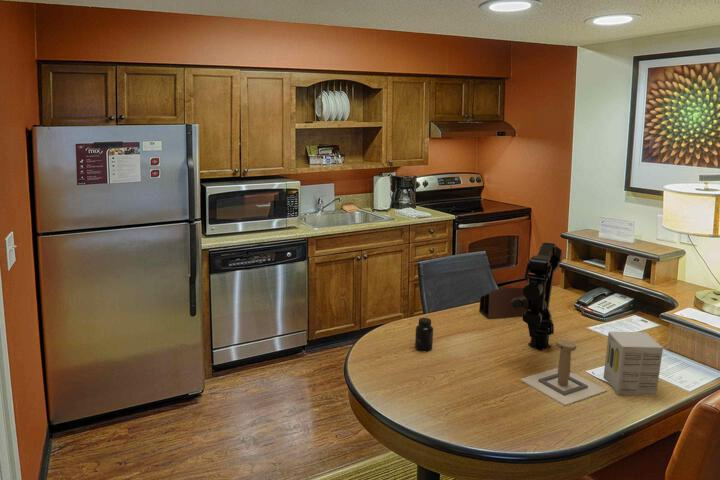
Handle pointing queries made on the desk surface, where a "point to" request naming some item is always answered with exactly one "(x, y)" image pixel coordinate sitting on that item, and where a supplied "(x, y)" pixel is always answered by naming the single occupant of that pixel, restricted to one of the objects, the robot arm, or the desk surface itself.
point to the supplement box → (633, 363)
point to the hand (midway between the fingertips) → (533, 332)
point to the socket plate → (562, 387)
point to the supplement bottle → (424, 335)
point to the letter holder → (501, 303)
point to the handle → (564, 361)
